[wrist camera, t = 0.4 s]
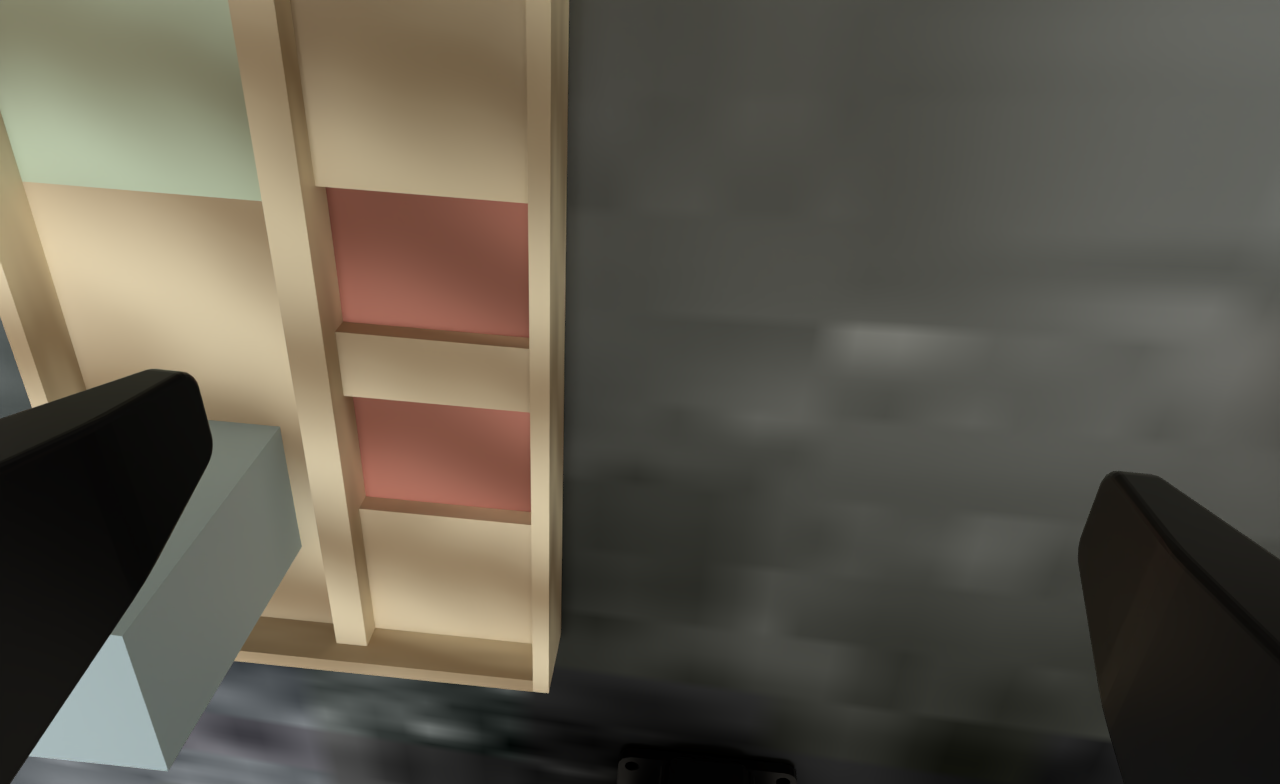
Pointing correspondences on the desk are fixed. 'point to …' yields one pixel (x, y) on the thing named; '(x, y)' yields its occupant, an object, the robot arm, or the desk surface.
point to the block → (187, 611)
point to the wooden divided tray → (321, 287)
